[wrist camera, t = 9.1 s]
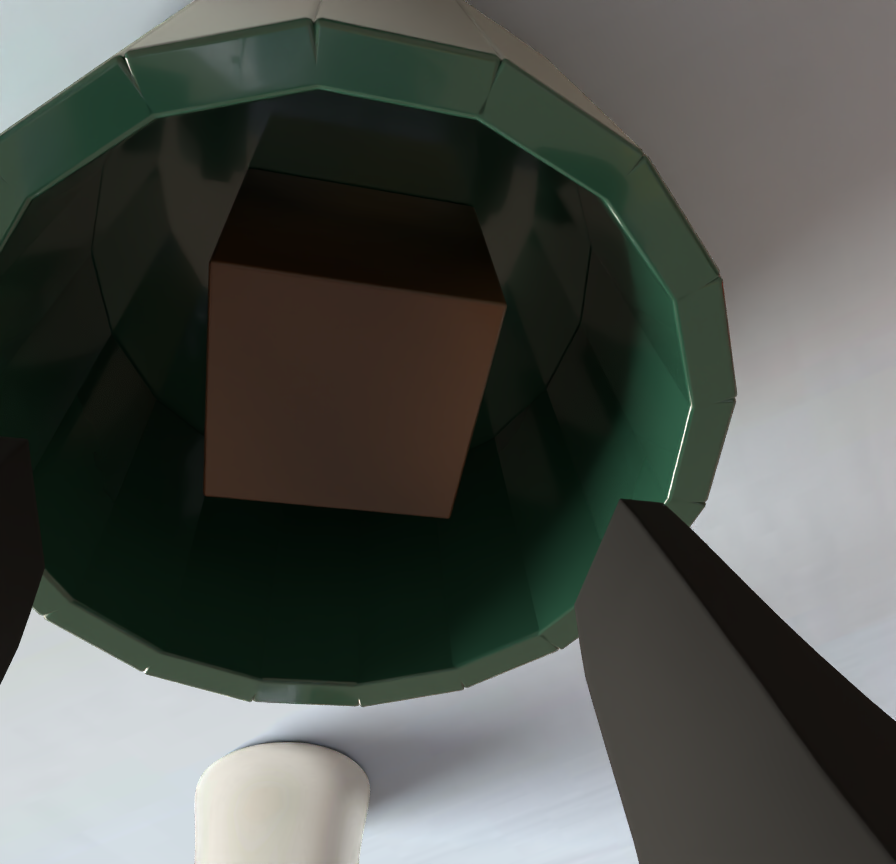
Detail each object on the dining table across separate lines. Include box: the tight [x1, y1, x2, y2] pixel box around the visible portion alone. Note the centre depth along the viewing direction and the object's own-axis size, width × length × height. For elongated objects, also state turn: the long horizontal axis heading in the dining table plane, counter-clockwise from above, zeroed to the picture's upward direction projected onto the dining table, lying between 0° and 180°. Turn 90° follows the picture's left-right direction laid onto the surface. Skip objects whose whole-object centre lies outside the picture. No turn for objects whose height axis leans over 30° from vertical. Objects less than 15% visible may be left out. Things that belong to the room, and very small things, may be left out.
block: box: [203, 169, 507, 519], centre depth 14 cm, size 4×4×4 cm
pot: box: [0, 0, 737, 707], centre depth 14 cm, size 11×12×6 cm
